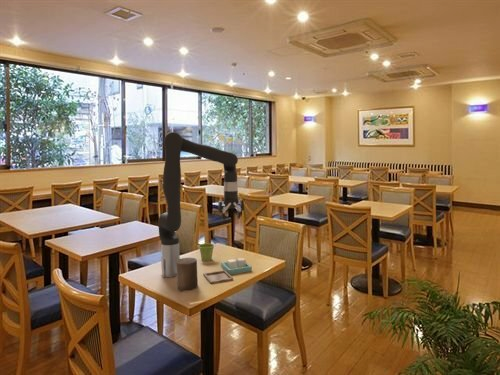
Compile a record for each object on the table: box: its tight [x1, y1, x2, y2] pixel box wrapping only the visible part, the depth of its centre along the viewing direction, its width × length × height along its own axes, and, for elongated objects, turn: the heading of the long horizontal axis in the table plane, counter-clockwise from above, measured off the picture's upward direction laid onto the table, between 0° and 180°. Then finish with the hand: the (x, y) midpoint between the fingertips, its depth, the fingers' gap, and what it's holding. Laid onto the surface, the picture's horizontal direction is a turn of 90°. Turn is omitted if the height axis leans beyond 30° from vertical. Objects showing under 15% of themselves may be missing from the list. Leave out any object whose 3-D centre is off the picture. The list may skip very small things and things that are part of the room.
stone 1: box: [226, 258, 237, 269], centre depth 193 cm, size 4×4×5 cm
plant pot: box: [198, 242, 215, 262], centre depth 212 cm, size 9×9×9 cm
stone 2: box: [235, 257, 247, 268], centre depth 195 cm, size 4×4×5 cm
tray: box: [202, 269, 234, 285], centre depth 182 cm, size 12×13×2 cm
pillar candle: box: [176, 257, 199, 292], centre depth 170 cm, size 10×10×15 cm
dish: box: [220, 261, 253, 275], centre depth 194 cm, size 13×13×3 cm
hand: (231, 219), depth 194 cm, fingers open, 8 cm apart
